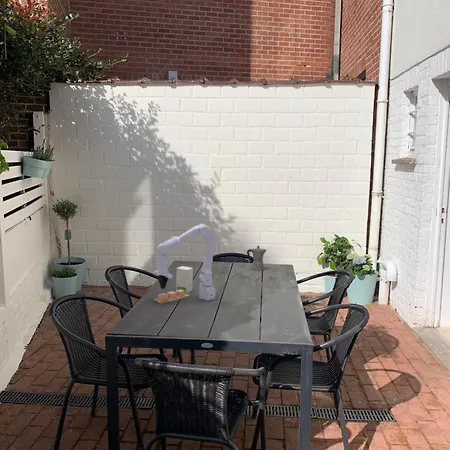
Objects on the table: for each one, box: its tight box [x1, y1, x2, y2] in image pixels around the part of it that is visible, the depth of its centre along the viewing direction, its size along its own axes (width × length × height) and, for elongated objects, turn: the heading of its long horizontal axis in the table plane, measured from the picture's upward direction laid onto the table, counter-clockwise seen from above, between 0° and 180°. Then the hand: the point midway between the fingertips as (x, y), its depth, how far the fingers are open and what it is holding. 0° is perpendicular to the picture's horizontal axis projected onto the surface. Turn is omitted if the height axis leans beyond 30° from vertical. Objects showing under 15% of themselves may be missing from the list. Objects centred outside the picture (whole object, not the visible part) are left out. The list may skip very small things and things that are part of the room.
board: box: [153, 293, 191, 304], centre depth 275 cm, size 8×20×2 cm, turn 132°
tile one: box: [174, 289, 186, 297], centre depth 278 cm, size 4×4×4 cm
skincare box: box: [175, 265, 194, 294], centre depth 291 cm, size 8×7×16 cm
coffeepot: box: [246, 245, 267, 272], centre depth 355 cm, size 15×9×18 cm, turn 103°
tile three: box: [157, 292, 168, 301], centre depth 270 cm, size 4×4×4 cm
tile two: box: [166, 290, 177, 299], centre depth 274 cm, size 4×4×4 cm
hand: (163, 288), depth 270 cm, fingers closed
